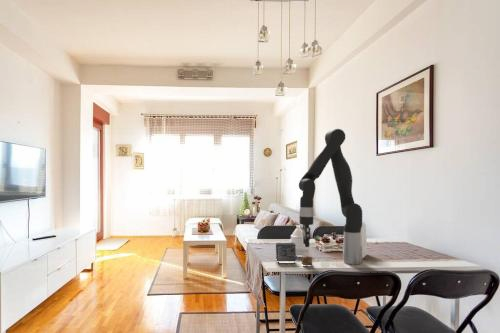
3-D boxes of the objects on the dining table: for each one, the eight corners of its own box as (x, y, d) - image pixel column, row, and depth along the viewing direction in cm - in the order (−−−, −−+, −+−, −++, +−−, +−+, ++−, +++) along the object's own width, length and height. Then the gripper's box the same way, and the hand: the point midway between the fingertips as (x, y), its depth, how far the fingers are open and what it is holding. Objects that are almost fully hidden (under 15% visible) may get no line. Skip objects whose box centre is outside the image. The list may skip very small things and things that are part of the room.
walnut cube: (310, 264, 197) (310, 255, 197) (312, 266, 192) (312, 257, 192) (301, 264, 197) (301, 255, 197) (302, 266, 192) (302, 257, 192)
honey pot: (308, 257, 212) (308, 227, 212) (287, 256, 214) (286, 226, 215) (309, 252, 224) (309, 224, 225) (289, 252, 227) (288, 223, 227)
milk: (348, 252, 225) (347, 211, 226) (367, 254, 219) (366, 211, 220) (342, 256, 215) (342, 212, 215) (362, 258, 209) (361, 213, 209)
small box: (294, 260, 205) (294, 242, 205) (296, 263, 199) (295, 244, 199) (275, 260, 205) (275, 242, 205) (277, 263, 198) (276, 244, 198)
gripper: (315, 217, 188) (314, 248, 187) (311, 214, 202) (311, 242, 201) (300, 216, 188) (300, 247, 188) (298, 213, 202) (298, 242, 202)
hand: (306, 245), depth 194 cm, fingers open, 8 cm apart
